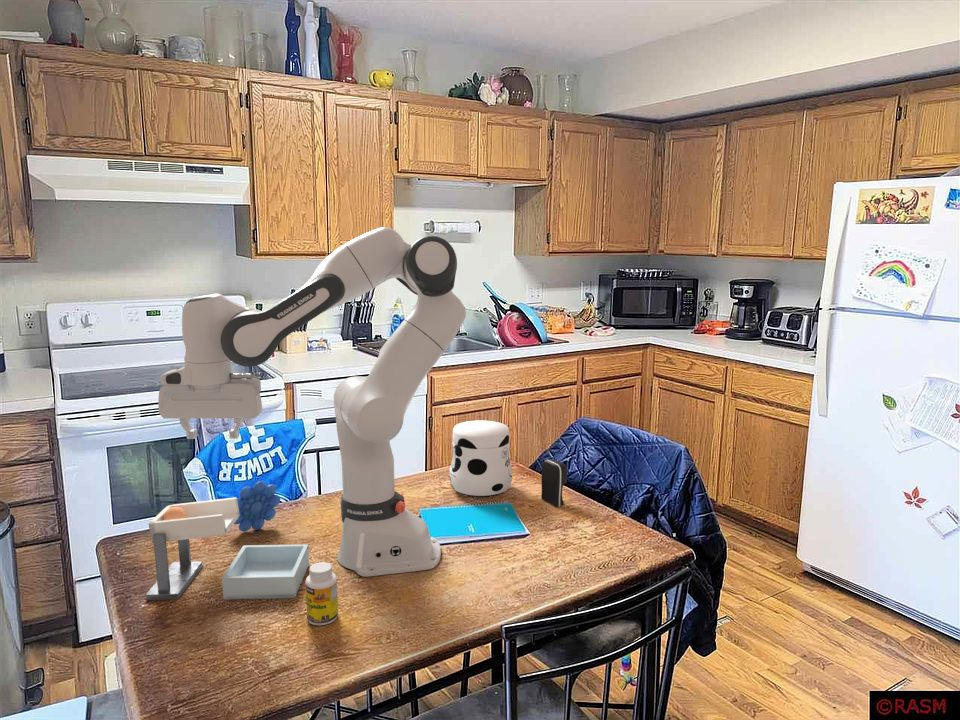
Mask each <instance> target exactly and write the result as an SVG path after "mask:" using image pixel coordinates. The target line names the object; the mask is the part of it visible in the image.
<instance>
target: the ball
mask: <svg viewBox="0 0 960 720" xmlns="http://www.w3.org/2000/svg"><path fill="white" fill-rule="evenodd" d="M182 518H186V514H185V512H184V510H183V509H182V508H180V507H172V508H170V509H168V510H167V511H166V512H165V514H164V520H173V519H182Z"/></svg>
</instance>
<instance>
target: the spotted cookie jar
mask: <svg viewBox="0 0 960 720" xmlns="http://www.w3.org/2000/svg"><path fill="white" fill-rule="evenodd" d="M510 434H511V433H510V427H508V426H507V424H504V423H502V422H500V421H493V420H479V419H478V420H469V421H464V422H458V423H457V424H456V425H454V427H453V429H452V459H451V462H450V467H449V472H448V473H449V475H448V477H449V483H450V486H451V488H452V490H453V491H454V492H456V493H458V495H461V496H465V497H469V498H476V499H477V498H478V499H479V498H482V499H483V498H484V499H485V498H487V499H488V498H493V497H497V496H500V495H503V494H504V493H505V492H507V491H509V489H510V488H511V485H512V481H513V467H512V465H511V459H510V448H511V447H510V437H511V436H510Z"/></svg>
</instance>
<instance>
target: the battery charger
mask: <svg viewBox="0 0 960 720" xmlns="http://www.w3.org/2000/svg"><path fill="white" fill-rule="evenodd" d="M567 483H568V468H567V465H566V464H565V463H563V462H562V461H559V460H557V459H554V458H553V459H552V458H551V459H545V460H544V461H543V462H541V495H540V496H541V497H540V499H541V500H542V501H544V502H546V503H548V504H549V505H552V506H554V507H555V508H560V507H562V506H564V505H565V502H564V499H563V488H564V485H565V484H567Z"/></svg>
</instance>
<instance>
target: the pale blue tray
mask: <svg viewBox="0 0 960 720" xmlns="http://www.w3.org/2000/svg"><path fill="white" fill-rule="evenodd" d="M309 550H310V549H309V544H257V545H256V544H254V545H253V544H252V545H251V544H250V545H248V544H247V545H242V547H241V548H240V550H239V551H238V553H237V554H236V556H235V558H234V559H233V560H232V561H231V564H230V565H229V566H228V568H227V569H226V570H225V573H224V574H223V575H222V577H221V582H222V583H221V584H222V596H223V598H222V599H223V600H256V599H257V600H261V599H262V600H264V599H265V600H266V599H267V600H269V599H270V600H271V599H272V600H273V599H275V600H276V599H295V598H296V597H297V594H298V591H299V589H300V587H301V585H300V584H302V582H303V579H304V578H305V575H306V573H307V571H308V569H309V565H310V552H309ZM303 577H304V578H303Z"/></svg>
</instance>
